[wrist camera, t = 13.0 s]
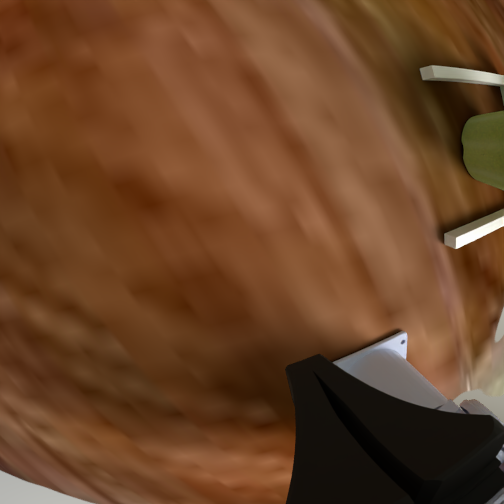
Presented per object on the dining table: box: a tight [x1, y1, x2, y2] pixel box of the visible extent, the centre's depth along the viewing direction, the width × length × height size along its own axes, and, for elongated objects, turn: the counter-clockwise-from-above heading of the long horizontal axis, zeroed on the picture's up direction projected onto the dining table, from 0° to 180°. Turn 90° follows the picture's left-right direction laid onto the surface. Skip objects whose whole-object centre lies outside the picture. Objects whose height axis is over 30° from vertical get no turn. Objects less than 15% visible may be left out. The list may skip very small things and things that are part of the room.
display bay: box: [420, 65, 504, 249], centre depth 19 cm, size 15×14×5 cm
